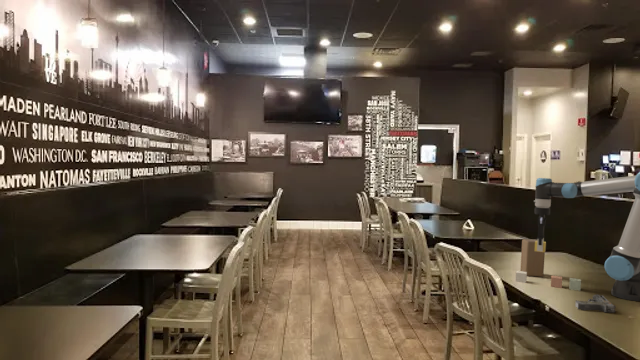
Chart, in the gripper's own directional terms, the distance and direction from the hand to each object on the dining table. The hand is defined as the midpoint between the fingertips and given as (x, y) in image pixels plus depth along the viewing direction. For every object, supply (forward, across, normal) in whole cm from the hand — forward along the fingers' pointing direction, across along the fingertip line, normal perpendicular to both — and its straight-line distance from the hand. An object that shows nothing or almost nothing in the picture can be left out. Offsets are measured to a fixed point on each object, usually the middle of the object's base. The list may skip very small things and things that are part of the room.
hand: (540, 250), depth 243 cm
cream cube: (+18, +1, -8) cm, 20 cm away
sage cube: (+18, +1, +17) cm, 25 cm away
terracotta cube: (+18, +1, +9) cm, 20 cm away
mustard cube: (0, 0, 0) cm, 0 cm away
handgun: (+18, +30, +24) cm, 42 cm away
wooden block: (+18, -20, -5) cm, 27 cm away
